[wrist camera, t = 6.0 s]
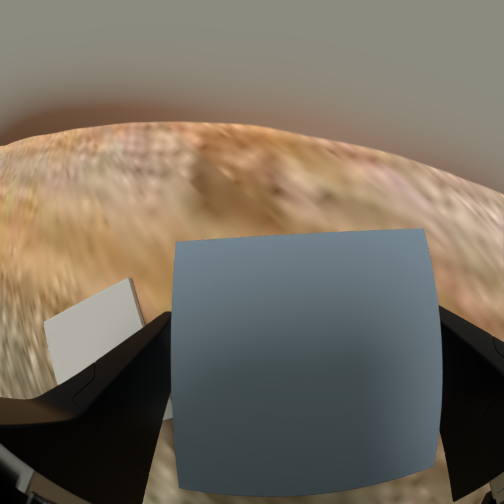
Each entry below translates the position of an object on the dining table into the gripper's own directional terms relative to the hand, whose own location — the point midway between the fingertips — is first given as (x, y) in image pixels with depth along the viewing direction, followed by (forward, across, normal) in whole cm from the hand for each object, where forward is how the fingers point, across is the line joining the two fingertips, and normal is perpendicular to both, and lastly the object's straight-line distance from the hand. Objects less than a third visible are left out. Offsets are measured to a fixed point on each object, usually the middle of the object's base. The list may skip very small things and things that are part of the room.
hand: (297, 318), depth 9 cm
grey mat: (+3, +14, +7) cm, 16 cm away
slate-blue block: (+4, 0, +6) cm, 8 cm away
